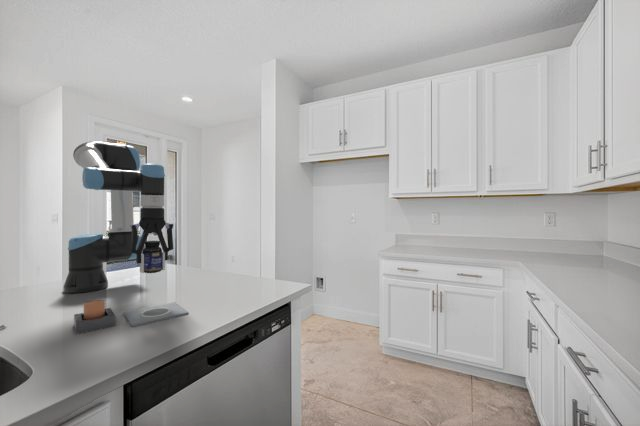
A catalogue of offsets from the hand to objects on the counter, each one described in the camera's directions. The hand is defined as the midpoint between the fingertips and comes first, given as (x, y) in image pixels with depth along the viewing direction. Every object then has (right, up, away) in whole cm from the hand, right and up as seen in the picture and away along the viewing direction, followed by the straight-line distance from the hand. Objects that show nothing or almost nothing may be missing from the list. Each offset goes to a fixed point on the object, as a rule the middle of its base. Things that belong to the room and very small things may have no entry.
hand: (152, 270), depth 109 cm
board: (+7, -12, -10) cm, 18 cm away
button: (-6, -11, -20) cm, 23 cm away
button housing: (-6, -12, -20) cm, 24 cm away
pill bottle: (0, -1, 0) cm, 1 cm away
